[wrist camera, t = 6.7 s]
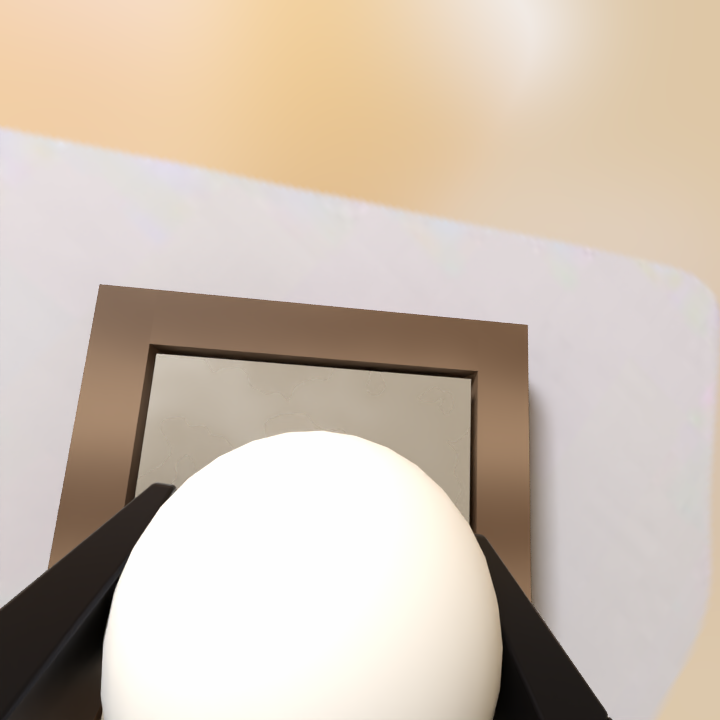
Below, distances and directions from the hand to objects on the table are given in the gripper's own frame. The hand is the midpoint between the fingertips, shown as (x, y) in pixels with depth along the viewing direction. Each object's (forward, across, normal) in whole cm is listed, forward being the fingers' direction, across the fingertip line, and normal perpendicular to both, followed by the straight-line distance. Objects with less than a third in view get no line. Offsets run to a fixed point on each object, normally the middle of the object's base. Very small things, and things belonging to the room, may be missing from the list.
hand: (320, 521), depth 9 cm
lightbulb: (+4, 0, +6) cm, 7 cm away
